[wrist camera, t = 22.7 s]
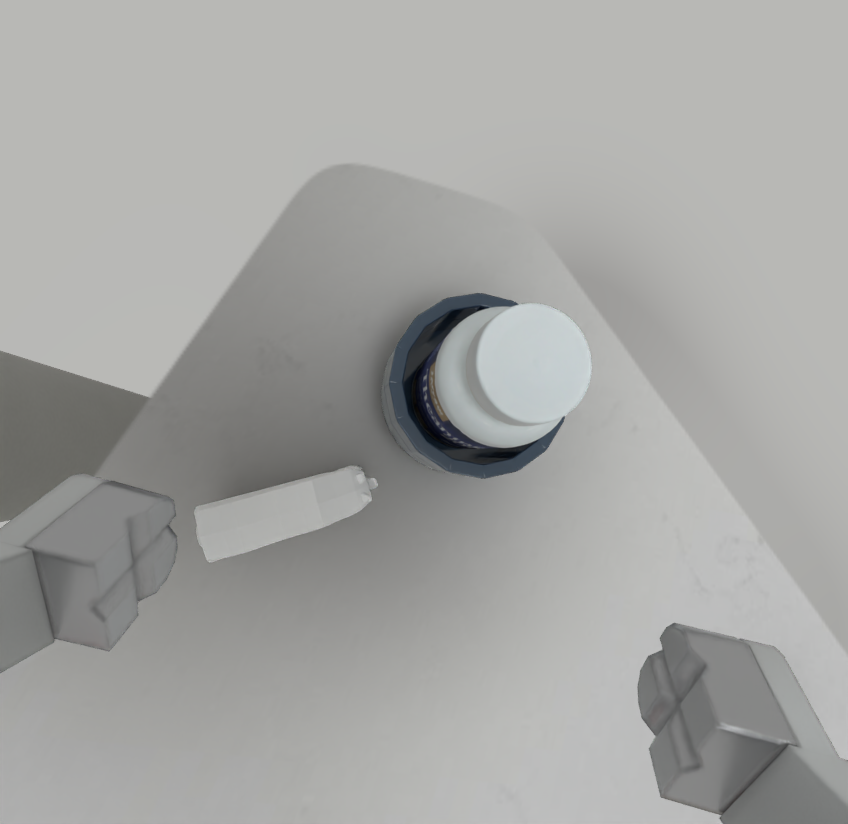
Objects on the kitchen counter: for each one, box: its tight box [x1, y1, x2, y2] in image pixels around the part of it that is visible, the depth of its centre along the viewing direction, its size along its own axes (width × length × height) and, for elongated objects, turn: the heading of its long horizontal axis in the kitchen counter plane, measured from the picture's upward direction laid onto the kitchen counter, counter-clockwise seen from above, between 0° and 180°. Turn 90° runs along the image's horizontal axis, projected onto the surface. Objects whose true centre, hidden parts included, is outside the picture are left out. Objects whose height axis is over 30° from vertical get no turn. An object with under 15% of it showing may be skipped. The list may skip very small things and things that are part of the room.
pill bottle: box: [411, 303, 592, 449], centre depth 21 cm, size 5×5×10 cm
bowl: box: [381, 293, 565, 479], centre depth 24 cm, size 8×8×4 cm
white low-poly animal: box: [194, 465, 378, 563], centre depth 22 cm, size 2×8×5 cm, turn 104°
